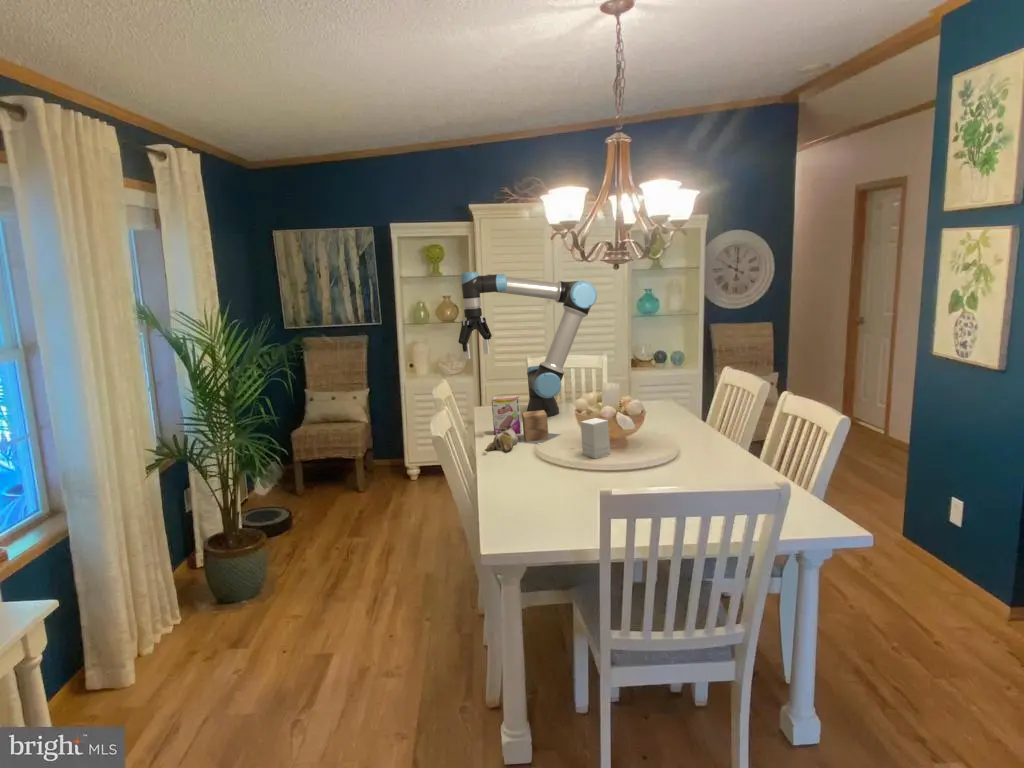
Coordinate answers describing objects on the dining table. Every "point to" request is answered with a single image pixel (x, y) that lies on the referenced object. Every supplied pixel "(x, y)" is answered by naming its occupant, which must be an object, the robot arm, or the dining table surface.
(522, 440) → the board
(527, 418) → the wooden block
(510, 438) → the ceramic sculpture
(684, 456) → the dining table surface
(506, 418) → the candy bar box
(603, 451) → the supplement box
